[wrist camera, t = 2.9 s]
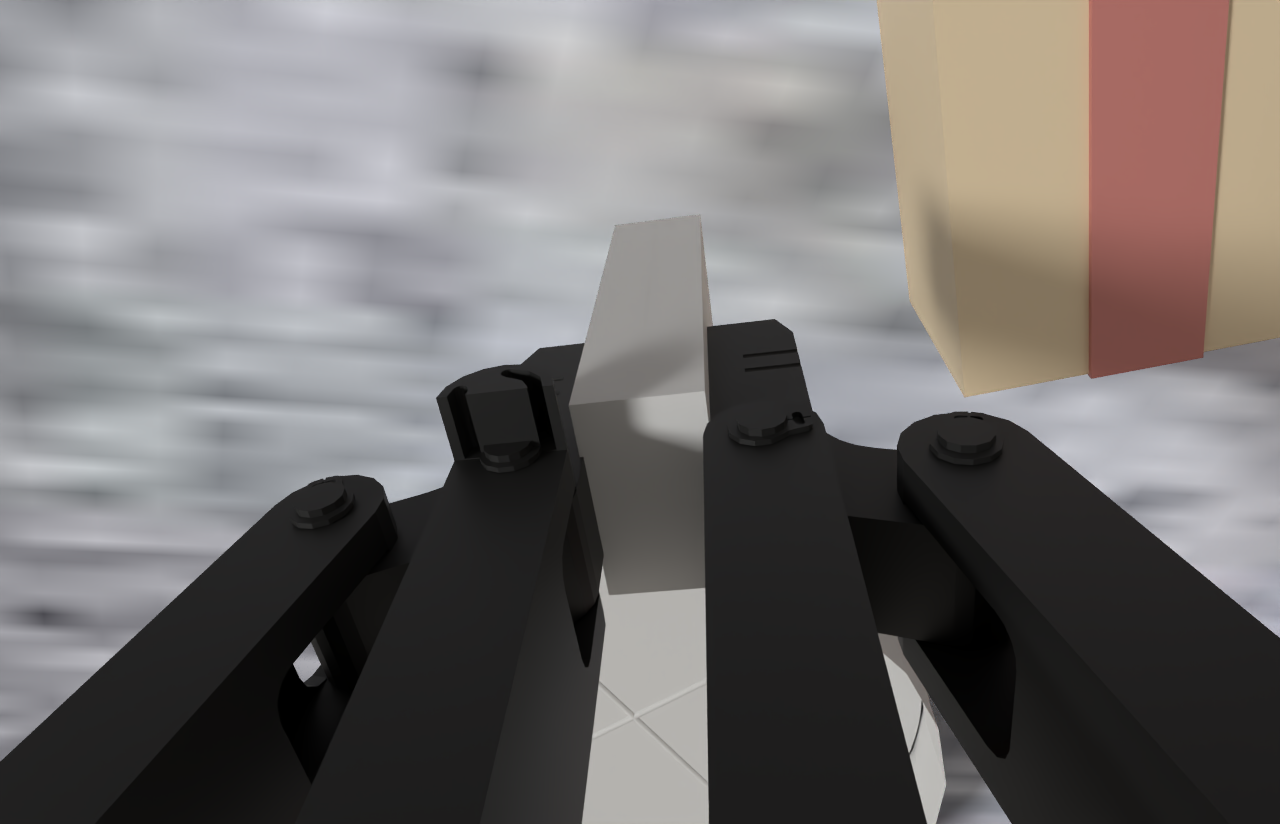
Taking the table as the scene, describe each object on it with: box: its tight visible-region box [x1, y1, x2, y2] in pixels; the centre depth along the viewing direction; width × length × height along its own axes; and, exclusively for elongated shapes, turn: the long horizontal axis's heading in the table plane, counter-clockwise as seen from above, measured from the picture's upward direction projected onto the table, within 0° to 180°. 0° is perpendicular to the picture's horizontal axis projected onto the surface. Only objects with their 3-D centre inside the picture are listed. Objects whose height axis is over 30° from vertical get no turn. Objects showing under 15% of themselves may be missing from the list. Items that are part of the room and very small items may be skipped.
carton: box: [877, 0, 1280, 397], centre depth 20 cm, size 10×8×6 cm
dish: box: [582, 566, 946, 824], centre depth 32 cm, size 22×22×5 cm
